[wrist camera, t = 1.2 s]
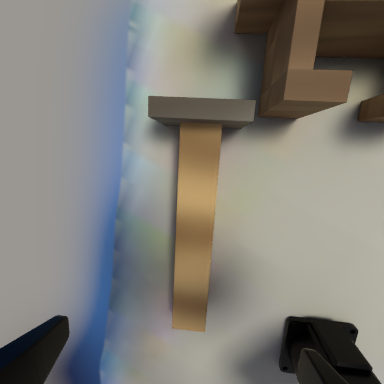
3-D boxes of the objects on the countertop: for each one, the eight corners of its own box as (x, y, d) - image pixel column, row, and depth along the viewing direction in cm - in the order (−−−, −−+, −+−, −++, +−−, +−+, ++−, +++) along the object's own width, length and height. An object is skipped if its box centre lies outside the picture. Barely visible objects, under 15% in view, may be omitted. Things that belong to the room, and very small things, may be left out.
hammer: (222, 308, 21) (226, 356, 16) (160, 301, 21) (146, 347, 17) (242, 114, 17) (255, 100, 12) (165, 110, 17) (148, 96, 12)
